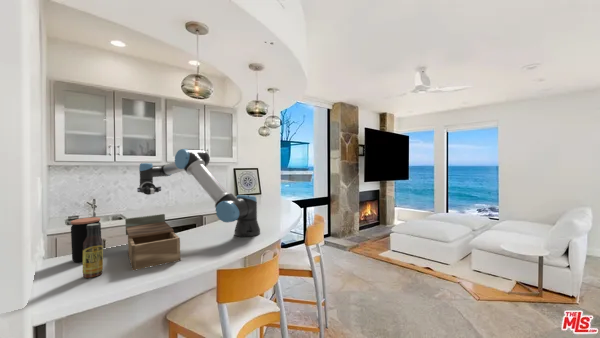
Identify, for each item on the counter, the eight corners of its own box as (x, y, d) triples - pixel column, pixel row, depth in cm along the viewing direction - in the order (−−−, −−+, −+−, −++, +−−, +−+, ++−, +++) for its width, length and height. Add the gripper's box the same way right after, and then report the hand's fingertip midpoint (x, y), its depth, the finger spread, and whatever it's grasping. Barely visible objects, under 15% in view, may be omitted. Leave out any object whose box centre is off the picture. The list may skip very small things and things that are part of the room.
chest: (128, 255, 126) (127, 234, 126) (170, 248, 137) (169, 228, 137) (132, 270, 109) (131, 246, 108) (180, 260, 119) (179, 238, 119)
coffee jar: (104, 253, 130) (102, 216, 130) (99, 260, 121) (97, 220, 120) (76, 257, 126) (74, 218, 125) (68, 265, 116) (66, 223, 116)
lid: (125, 234, 139) (125, 218, 139) (164, 228, 149) (164, 214, 149) (129, 245, 119) (128, 227, 119) (173, 238, 129) (173, 221, 129)
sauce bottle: (84, 280, 100) (82, 227, 100) (81, 276, 104) (78, 225, 104) (106, 274, 105) (104, 224, 105) (101, 270, 109) (99, 221, 109)
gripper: (159, 193, 174) (165, 197, 154) (136, 195, 166) (139, 199, 147) (159, 181, 173) (165, 184, 154) (135, 182, 166) (139, 185, 146)
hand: (152, 191), depth 150 cm, fingers closed
